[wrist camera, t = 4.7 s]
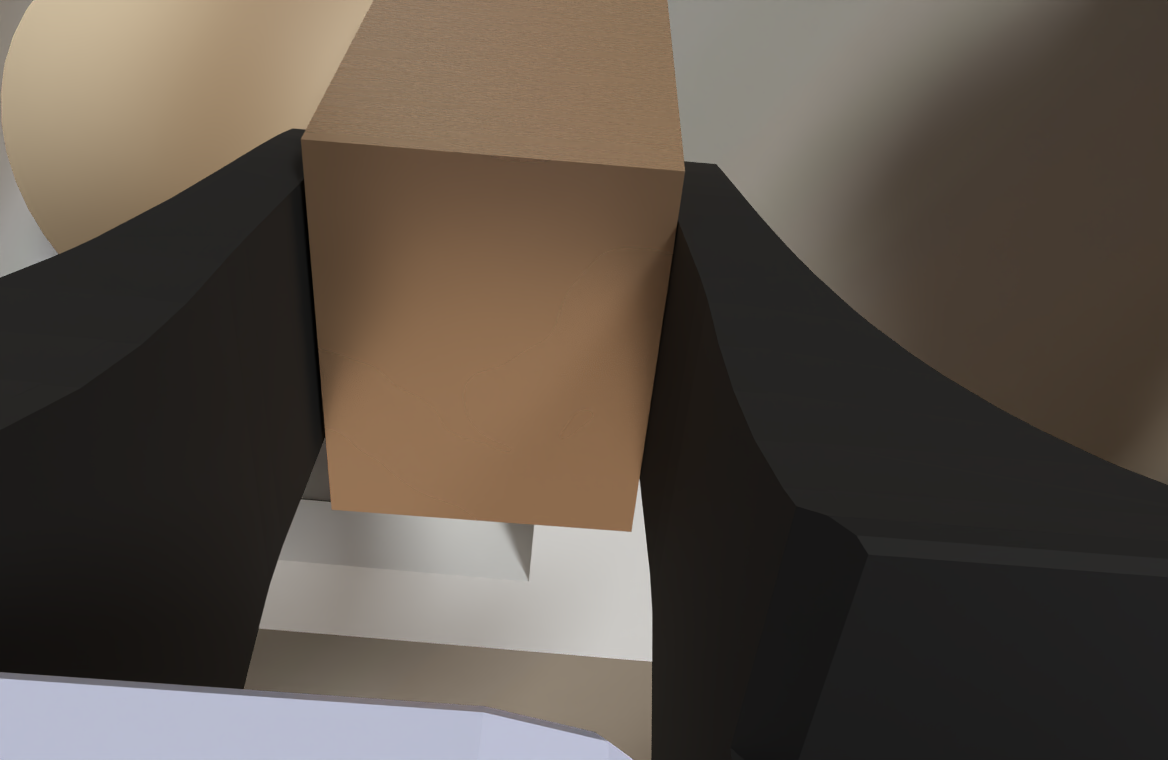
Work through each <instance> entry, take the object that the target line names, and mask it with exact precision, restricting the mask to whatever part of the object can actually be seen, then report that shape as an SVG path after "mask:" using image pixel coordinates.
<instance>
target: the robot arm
mask: <svg viewBox="0 0 1168 760" xmlns="http://www.w3.org/2000/svg"><path fill="white" fill-rule="evenodd" d="M305 130H306V129H294V128H292V129H290V130H288V131H285V132H283V133H281V134H279V135H277V136H275V137H273V138H271V139H270V140H268V141H266V142H264V143H263V144H261V145H259V146H257V147H256V148H254V149H252V150H251V151H249V152H247V153H246V154H244V155H242V156H241V157H239V158H237V159H236V160H234V161H233V162H231V163H229V164H228V165H226V166H224V167H223V168H221V169H219V170H218V171H216V172H214V173H212V174H211V175H209V176H207V177H206V178H204V179H202V180H201V181H199V182H197V183H196V184H194V185H192V186H191V187H189V188H187V189H185V190H184V191H182V192H180V193H179V194H177V195H175V196H174V197H172V198H170V199H168V200H166V201H164V202H162V203H161V204H159V205H157V206H155V207H153V208H151V209H149V210H147V211H145V212H143V213H141V214H140V215H138V216H136V217H134V218H132V219H130V220H128V221H126V222H124V223H122V224H120V225H119V226H117V227H115V228H113V229H111V230H109V231H107V232H105V233H103V234H101V235H99V236H98V237H96V238H93V239H91V240H89V241H87V242H85V243H83V244H81V245H78V246H76V247H74V248H72V249H70V250H67V251H65V252H63V253H60V254H58V255H56V256H54V257H51V258H49V259H46V260H44V261H41V262H39V263H36V264H34V265H31V266H29V267H26V268H24V269H21V270H19V271H16V272H14V273H11V274H9V275H6V276H4V277H1V278H0V760H633V759H632V758H630V757H629V756H628V755H626V754H625V753H624V752H622V751H621V750H619V749H618V748H617V747H615V746H614V745H613V744H611V743H610V742H608V741H607V740H606V739H604V738H603V737H601V736H600V735H598V734H597V733H595V732H593V731H588V730H584V729H580V728H576V727H571V726H567V725H563V724H558V723H554V722H550V721H546V720H541V719H537V718H533V717H529V716H524V715H520V714H516V713H512V712H507V711H503V710H499V709H495V708H490V707H486V706H474V705H460V704H446V703H432V702H417V701H403V700H389V699H375V698H360V697H346V696H332V695H318V694H304V693H289V692H275V691H261V690H247V689H244V685H245V681H246V676H247V672H248V668H249V664H250V660H251V656H252V652H253V648H254V645H255V641H256V637H257V633H258V629H259V625H260V621H261V617H262V613H263V609H264V606H265V602H266V598H267V594H268V590H269V586H270V583H271V580H272V577H273V574H274V571H275V568H276V565H277V562H278V559H279V556H280V553H281V549H282V547H283V544H284V541H285V539H286V536H287V534H288V531H289V528H290V526H291V523H292V521H293V518H294V515H295V513H296V510H297V508H298V505H299V503H300V500H301V497H302V495H303V492H304V490H305V487H306V484H307V482H308V479H309V477H310V474H311V472H312V469H313V466H314V464H315V461H316V459H317V456H318V454H319V451H320V448H321V446H322V443H323V441H324V438H325V424H324V412H323V400H322V388H321V376H320V364H319V352H318V340H317V328H316V316H315V304H314V292H313V280H312V268H311V256H310V244H309V232H308V220H307V208H306V196H305V184H304V172H303V160H302V147H301V138H302V136H303V134H304V132H305ZM684 166H685V175H684V182H683V188H682V195H681V202H680V208H679V215H678V222H677V229H676V235H675V242H674V249H673V256H672V262H671V269H670V276H669V283H668V289H667V296H666V303H665V310H664V316H663V323H662V330H661V337H660V343H659V350H658V357H657V364H656V370H655V377H654V384H653V390H652V397H651V404H650V411H649V417H648V424H647V431H646V438H645V444H644V451H643V458H642V465H641V471H640V478H639V479H640V488H641V497H642V506H643V516H644V525H645V534H646V543H647V552H648V561H649V570H650V584H651V601H652V758H651V760H1168V485H1166V484H1163V483H1161V482H1158V481H1155V480H1153V479H1150V478H1148V477H1145V476H1142V475H1140V474H1137V473H1134V472H1132V471H1129V470H1127V469H1124V468H1121V467H1119V466H1117V465H1114V464H1112V463H1110V462H1107V461H1105V460H1103V459H1101V458H1098V457H1096V456H1094V455H1092V454H1090V453H1088V452H1086V451H1084V450H1081V449H1079V448H1077V447H1075V446H1073V445H1071V444H1069V443H1067V442H1064V441H1062V440H1060V439H1058V438H1056V437H1054V436H1052V435H1050V434H1047V433H1045V432H1043V431H1041V430H1039V429H1037V428H1035V427H1033V426H1031V425H1030V424H1028V423H1026V422H1024V421H1022V420H1020V419H1018V418H1016V417H1014V416H1012V415H1010V414H1009V413H1007V412H1005V411H1003V410H1001V409H999V408H997V407H996V406H994V405H992V404H991V403H989V402H987V401H985V400H984V399H982V398H980V397H979V396H977V395H975V394H974V393H972V392H970V391H969V390H967V389H965V388H964V387H962V386H960V385H959V384H957V383H955V382H954V381H952V380H950V379H948V378H947V377H945V376H944V375H942V374H940V373H939V372H937V371H936V370H934V369H933V368H931V367H930V366H928V365H927V364H925V363H924V362H922V361H921V360H919V359H918V358H916V357H915V356H913V355H912V354H911V353H909V352H908V351H907V350H905V349H904V348H903V347H901V346H900V345H899V344H897V343H896V342H895V341H893V340H892V339H891V338H889V337H888V336H886V335H885V334H884V333H882V332H881V331H880V330H878V329H877V328H876V327H874V326H873V325H872V324H870V323H869V322H868V321H867V320H866V319H864V318H863V317H862V316H861V315H859V314H858V313H857V312H856V311H855V310H853V309H852V308H851V307H850V306H849V305H848V304H846V303H845V302H844V301H843V300H842V299H841V298H840V297H839V296H838V295H837V294H836V293H834V292H833V291H832V290H831V289H830V288H829V287H828V286H827V285H826V284H825V283H824V282H822V281H821V280H820V279H819V278H818V277H817V276H816V275H815V274H814V273H813V272H812V271H811V270H810V269H809V268H808V267H807V266H806V265H805V264H804V263H803V262H802V261H801V260H800V259H799V258H798V257H797V256H796V255H795V254H794V253H793V252H792V251H791V250H790V249H789V248H788V247H787V246H786V245H785V243H784V242H783V241H782V240H781V239H780V238H779V237H778V236H777V235H776V234H775V233H774V231H773V230H772V229H771V228H770V227H769V226H768V225H767V224H766V222H765V221H764V220H763V219H762V218H761V217H760V216H759V214H758V213H757V212H756V211H755V210H754V209H753V207H752V206H751V205H750V204H749V203H748V201H747V200H746V199H745V198H744V197H743V195H742V194H741V193H740V192H739V191H738V189H737V188H736V187H735V186H734V185H733V183H732V182H731V181H730V180H729V179H728V177H727V176H726V175H725V174H724V173H723V171H722V170H721V169H720V168H719V167H718V166H717V165H716V164H708V163H696V162H684Z"/></svg>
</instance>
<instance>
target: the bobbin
mask: <svg viewBox="0 0 1168 760" xmlns="http://www.w3.org/2000/svg"><path fill="white" fill-rule="evenodd" d="M372 2H373V0H33V2H32V3H31V4H30V6H29V7H28V8H27V10H26V12H25V14H24V16H23V18H22V20H21V21H20V23H19V25H18V27H17V29H16V31H15V33H14V35H13V38H12V41H11V45H10V48H9V51H8V55H7V58H6V61H5V65H4V73H3V80H2V88H1V118H2V128H3V134H4V140H5V145H6V151H7V155H8V158H9V161H10V164H11V168H12V171H13V174H14V177H15V180H16V183H17V185H18V187H19V189H20V192H21V194H22V196H23V198H24V200H25V203H26V205H27V207H28V209H29V211H30V212H31V214H32V216H33V217H34V219H35V221H36V222H37V224H38V226H39V227H40V229H41V231H42V232H43V234H44V235H45V237H46V238H47V239H48V241H49V242H50V243H51V245H52V246H53V247H54V249H55V250H56V251H57V252H58V254H60V253H63V252H65V251H67V250H70V249H72V248H74V247H76V246H78V245H81V244H83V243H85V242H87V241H89V240H91V239H93V238H96V237H98V236H99V235H101V234H103V233H105V232H107V231H109V230H111V229H113V228H115V227H117V226H119V225H120V224H122V223H124V222H126V221H128V220H130V219H132V218H134V217H136V216H138V215H140V214H141V213H143V212H145V211H147V210H149V209H151V208H153V207H155V206H157V205H159V204H161V203H162V202H164V201H166V200H168V199H170V198H172V197H174V196H175V195H177V194H179V193H180V192H182V191H184V190H185V189H187V188H189V187H191V186H192V185H194V184H196V183H197V182H199V181H201V180H202V179H204V178H206V177H207V176H209V175H211V174H212V173H214V172H216V171H218V170H219V169H221V168H223V167H224V166H226V165H228V164H229V163H231V162H233V161H234V160H236V159H237V158H239V157H241V156H242V155H244V154H246V153H247V152H249V151H251V150H252V149H254V148H256V147H257V146H259V145H261V144H263V143H264V142H266V141H268V140H270V139H271V138H273V137H275V136H277V135H279V134H281V133H283V132H285V131H288V130H290V129H292V128H294V129H306V128H307V126H308V125H309V123H310V121H311V119H312V117H313V115H314V113H315V111H316V109H317V107H318V105H319V104H320V102H321V100H322V98H323V96H324V94H325V92H326V90H327V88H328V86H329V84H330V82H331V81H332V79H333V77H334V75H335V73H336V71H337V69H338V67H339V65H340V63H341V61H342V60H343V58H344V56H345V54H346V52H347V50H348V48H349V46H350V44H351V42H352V40H353V39H354V37H355V35H356V33H357V31H358V29H359V27H360V25H361V23H362V21H363V19H364V18H365V16H366V14H367V12H368V10H369V8H370V6H371V4H372Z"/></svg>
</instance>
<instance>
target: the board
mask: <svg viewBox="0 0 1168 760" xmlns="http://www.w3.org/2000/svg"><path fill="white" fill-rule="evenodd" d="M259 629H271V630H283V631H295V632H307V633H319V634H330V635H342V636H354V637H366V638H378V639H390V640H402V641H414V642H425V643H437V644H449V645H461V646H473V647H485V648H497V649H508V650H520V651H532V652H544V653H556V654H568V655H580V656H592V657H603V658H615V659H627V660H639V661H651V662H652V601H651V584H650V570H649V561H648V552H647V543H646V534H645V525H644V516H643V506H642V497H641V488H640V479H639V485H638V492H637V498H636V505H635V512H634V519H633V525H632V532H625V531H612V530H598V529H585V528H571V527H558V526H544V525H531V524H517V523H504V522H490V521H477V520H463V519H450V518H436V517H423V516H409V515H396V514H382V513H369V512H355V511H342V510H332V508H331V502H326V501H314V500H303V499H301V500H300V503H299V505H298V508H297V510H296V513H295V515H294V518H293V521H292V523H291V526H290V528H289V531H288V534H287V536H286V539H285V541H284V544H283V547H282V549H281V553H280V556H279V559H278V562H277V565H276V568H275V571H274V574H273V577H272V580H271V583H270V586H269V590H268V594H267V598H266V602H265V606H264V609H263V613H262V617H261V621H260V625H259Z"/></svg>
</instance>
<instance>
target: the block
mask: <svg viewBox="0 0 1168 760" xmlns="http://www.w3.org/2000/svg"><path fill="white" fill-rule="evenodd" d="M301 147H302V160H303V172H304V184H305V196H306V208H307V220H308V232H309V244H310V256H311V268H312V280H313V292H314V304H315V316H316V328H317V340H318V352H319V364H320V376H321V388H322V400H323V412H324V424H325V436H326V448H327V460H328V472H329V484H330V496H331V508H332V510H342V511H355V512H369V513H382V514H396V515H409V516H423V517H436V518H450V519H463V520H477V521H490V522H504V523H517V524H531V525H544V526H558V527H571V528H585V529H598V530H612V531H625V532H632V525H633V519H634V512H635V505H636V498H637V492H638V485H639V478H640V471H641V465H642V458H643V451H644V444H645V438H646V431H647V424H648V417H649V411H650V404H651V397H652V390H653V384H654V377H655V370H656V364H657V357H658V350H659V343H660V337H661V330H662V323H663V316H664V310H665V303H666V296H667V289H668V283H669V276H670V269H671V262H672V256H673V249H674V242H675V235H676V229H677V222H678V215H679V208H680V202H681V195H682V188H683V182H684V175H685V166H684V157H683V147H682V137H681V128H680V118H679V109H678V99H677V89H676V80H675V70H674V60H673V51H672V41H671V32H670V22H669V12H668V3H667V0H373V2H372V4H371V6H370V8H369V10H368V12H367V14H366V16H365V18H364V19H363V21H362V23H361V25H360V27H359V29H358V31H357V33H356V35H355V37H354V39H353V40H352V42H351V44H350V46H349V48H348V50H347V52H346V54H345V56H344V58H343V60H342V61H341V63H340V65H339V67H338V69H337V71H336V73H335V75H334V77H333V79H332V81H331V82H330V84H329V86H328V88H327V90H326V92H325V94H324V96H323V98H322V100H321V102H320V104H319V105H318V107H317V109H316V111H315V113H314V115H313V117H312V119H311V121H310V123H309V125H308V126H307V128H306V130H305V132H304V134H303V136H302V138H301Z"/></svg>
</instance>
